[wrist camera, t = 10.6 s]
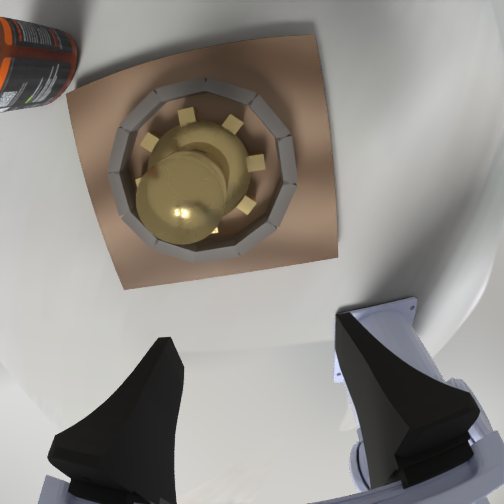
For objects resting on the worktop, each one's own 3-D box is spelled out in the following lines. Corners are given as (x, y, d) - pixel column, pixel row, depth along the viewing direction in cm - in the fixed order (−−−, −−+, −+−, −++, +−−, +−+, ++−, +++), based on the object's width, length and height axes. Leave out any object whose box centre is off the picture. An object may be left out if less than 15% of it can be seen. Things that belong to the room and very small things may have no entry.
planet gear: (271, 216, 19) (286, 271, 13) (157, 235, 19) (125, 294, 13) (253, 97, 16) (260, 88, 9) (129, 124, 16) (74, 136, 10)
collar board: (333, 249, 22) (344, 268, 19) (128, 281, 22) (117, 302, 20) (310, 38, 15) (321, 28, 12) (74, 93, 15) (53, 94, 13)
